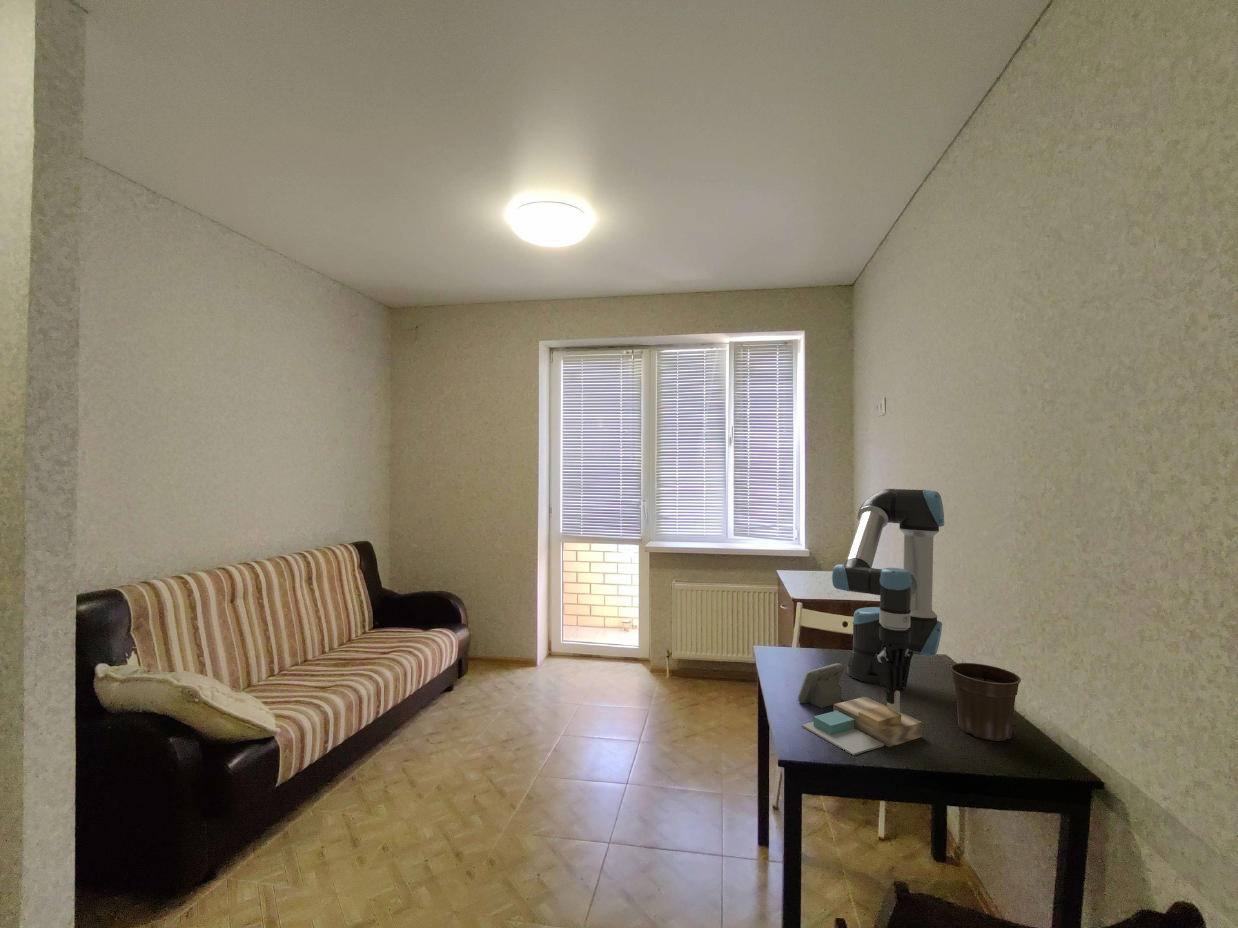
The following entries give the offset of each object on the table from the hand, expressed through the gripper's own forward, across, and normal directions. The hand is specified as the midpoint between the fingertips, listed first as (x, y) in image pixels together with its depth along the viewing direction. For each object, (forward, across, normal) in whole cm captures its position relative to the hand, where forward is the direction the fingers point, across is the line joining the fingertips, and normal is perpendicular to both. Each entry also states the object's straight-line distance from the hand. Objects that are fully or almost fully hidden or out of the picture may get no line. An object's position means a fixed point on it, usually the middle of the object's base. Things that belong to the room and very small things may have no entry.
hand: (893, 714), depth 151 cm
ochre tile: (+1, -5, 0) cm, 5 cm away
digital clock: (+6, 0, +24) cm, 25 cm away
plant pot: (+6, +25, -10) cm, 27 cm away
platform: (+5, -1, +5) cm, 7 cm away
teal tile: (+5, -12, +9) cm, 16 cm away
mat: (+5, -14, +5) cm, 15 cm away
